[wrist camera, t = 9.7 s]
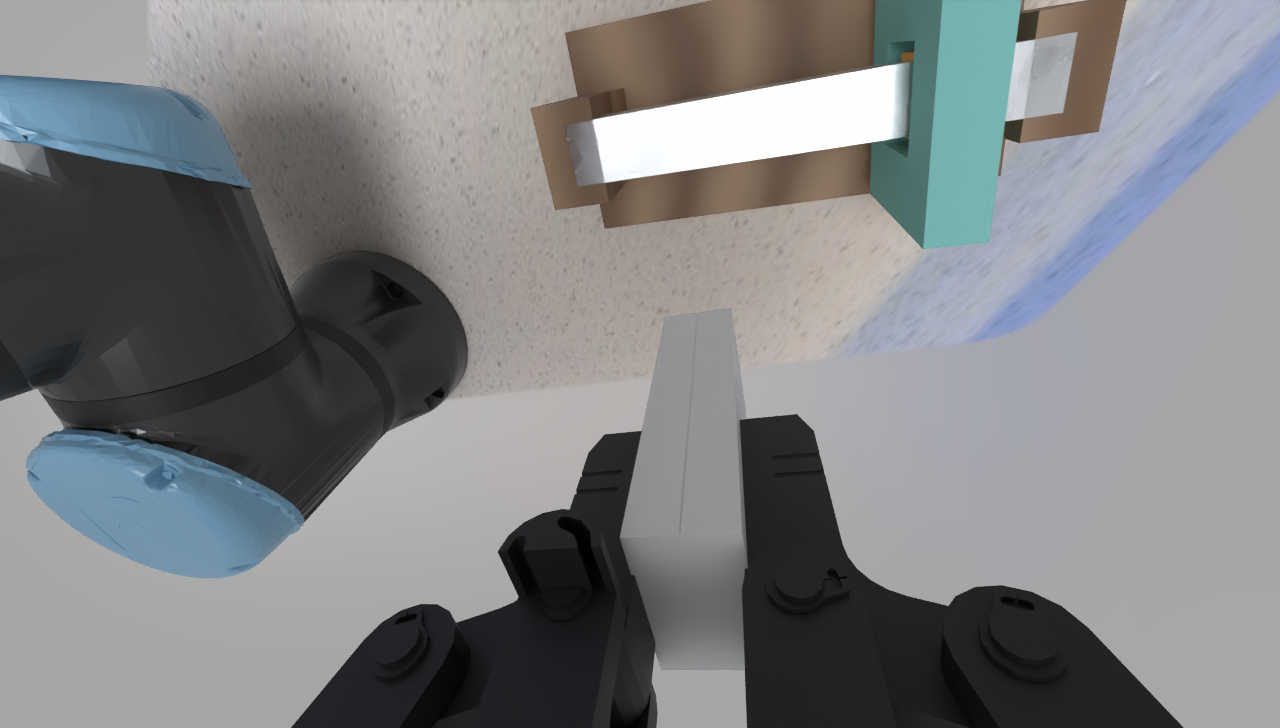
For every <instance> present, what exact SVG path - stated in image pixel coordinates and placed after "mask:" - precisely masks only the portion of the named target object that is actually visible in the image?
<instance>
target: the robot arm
mask: <svg viewBox="0 0 1280 728" xmlns="http://www.w3.org/2000/svg"><path fill="white" fill-rule="evenodd" d="M250 189H252V186H251V183H250V181H249V179H247V178H245V177H244V176H243V174H242V172H241V170H240V168H239V165H238V163H237V161H236V159H235V157H234V155H233V153H232V151H231V149H230V147H229V144H228V142H227V140H226V138H225V136H224V133H223V131H222V129H221V127H220V125H219V123H218V121H217V120H216V118H215V117H214V116H213V114H212V113H211V112H210V111H209V110H208V109H207V108H206V107H205V106H203V105H202V104H201V103H199V102H198V101H196V100H195V99H193V98H191V97H189V96H187V95H185V94H183V93H180V92H177V91H174V90H170V89H165V88H159V87H151V86H142V85H132V84H123V83H111V82H99V81H86V80H73V79H59V78H44V77H28V76H10V75H0V401H1V400H4V399H7V398H10V397H13V396H16V395H19V394H22V393H25V392H28V391H31V390H33V389H38V390H39V391H40V393H41V394H42V396H43V397H44V398H45V400H46V401H47V403H48V404H49V406H50V407H51V408H52V410H53V411H54V413H55V414H56V415H57V417H58V418H59V419H60V421H61V423H62V424H63V426H64V429H63V430H62V431H60V432H53V433H51V434H49V435H47V436H46V437H44V438H42V441H40V444H39V445H38V446H37V447H36V448H35V449H33V450H32V451H31V453H30V454H29V456H28V458H27V461H26V467H27V469H28V481H29V483H30V485H31V486H32V488H33V490H34V491H35V492H36V494H37V495H38V496H39V497H40V499H41V500H42V501H43V502H44V503H45V504H46V505H47V506H48V507H49V508H50V509H51V510H52V511H53V512H54V513H56V514H57V515H58V516H59V517H60V518H61V519H63V520H64V521H65V522H66V523H68V524H69V525H70V526H72V527H73V528H75V529H76V530H78V531H79V532H81V533H82V534H83V535H85V536H87V537H88V538H90V539H92V540H93V541H95V542H97V543H98V544H100V545H102V546H104V547H106V548H107V549H109V550H111V551H114V552H116V553H118V554H120V555H122V556H124V557H126V558H129V559H131V560H133V561H136V562H138V563H141V564H143V565H146V566H149V567H152V568H155V569H158V570H162V571H165V572H169V573H172V574H177V575H182V576H188V577H195V578H222V577H229V576H233V575H237V574H240V573H242V572H245V571H247V570H249V569H251V568H252V567H254V566H256V565H257V564H259V563H260V562H261V561H262V560H263V559H264V558H266V557H267V556H268V555H269V554H270V553H271V552H272V551H273V550H274V549H275V548H276V547H277V546H278V545H279V544H281V543H282V542H283V541H284V540H285V539H286V538H287V537H288V536H289V535H290V534H293V533H295V532H297V531H298V530H299V529H300V527H301V526H302V525H303V523H304V522H305V521H306V520H307V519H308V518H309V516H310V515H311V514H312V513H313V512H314V511H315V510H316V509H317V508H318V506H319V505H320V504H321V503H322V502H323V501H324V500H325V499H326V497H328V496H329V494H330V493H331V492H332V491H333V490H334V489H335V488H336V487H337V486H338V484H339V483H340V482H341V481H342V480H343V479H344V478H345V477H346V476H347V475H348V473H349V472H350V471H351V470H352V469H353V468H354V467H355V466H356V465H357V463H358V462H359V461H360V460H361V459H362V458H363V457H364V456H365V455H366V453H368V451H369V450H370V449H371V448H372V447H373V446H374V445H375V443H376V442H377V441H378V440H379V439H380V438H381V437H382V436H383V435H384V434H385V433H386V432H387V431H389V430H391V429H394V428H396V427H398V426H400V425H402V424H404V423H406V422H408V421H411V420H413V419H415V418H417V417H419V416H422V415H423V414H426V413H428V412H430V411H432V410H433V409H434V408H436V407H437V406H438V405H440V404H441V403H442V402H443V401H444V400H445V399H446V398H447V397H448V396H449V394H450V393H451V392H452V391H453V390H454V389H455V388H456V386H457V385H458V383H459V382H460V380H461V378H462V376H463V374H464V371H465V367H466V361H467V346H466V339H465V335H464V332H463V329H462V326H461V323H460V321H459V319H458V317H457V315H456V313H455V311H454V309H453V308H452V306H451V305H450V303H449V302H448V300H447V299H446V298H445V296H444V295H443V294H442V293H441V292H440V291H439V289H438V288H437V287H436V286H435V285H434V284H433V283H432V282H430V281H429V280H428V279H427V278H426V277H425V276H423V275H422V274H421V273H419V272H418V271H416V270H415V269H413V268H412V267H410V266H408V265H407V264H405V263H403V262H401V261H399V260H396V259H394V258H391V257H388V256H385V255H382V254H378V253H373V252H364V251H354V252H346V253H341V254H338V255H335V256H333V257H331V258H329V259H327V260H325V261H323V262H321V263H319V264H317V265H315V266H313V267H311V268H310V269H308V270H307V271H306V272H305V273H303V274H302V275H301V276H300V277H299V278H298V279H297V281H296V282H295V283H294V285H293V286H292V288H291V289H290V290H289V289H288V287H287V285H286V282H285V280H284V277H283V275H282V272H281V270H280V267H279V265H278V262H277V260H276V257H275V255H274V252H273V250H272V247H271V245H270V242H269V240H268V237H267V234H266V232H265V229H264V226H263V224H262V221H261V219H260V216H259V213H258V211H257V208H256V205H255V203H254V200H253V197H252V195H251V192H250ZM498 553H499V555H500V557H501V560H502V562H503V564H504V566H505V568H506V570H507V572H508V575H509V577H510V579H511V581H512V583H513V585H514V587H515V590H516V592H517V594H518V596H519V597H518V600H517V601H515V602H514V603H511V604H509V605H507V606H504V607H502V608H500V609H497V610H494V611H491V612H488V613H485V614H482V615H479V616H476V617H473V618H470V619H467V620H464V621H460V622H457V623H456V622H455V620H454V619H453V617H452V615H451V613H450V611H448V610H446V609H444V608H442V607H441V606H439V605H436V604H420V605H417V606H414V607H411V608H407V609H404V610H402V611H400V612H398V613H396V614H395V615H393V616H392V617H390V618H389V619H387V620H385V621H384V622H382V623H381V624H380V625H379V626H378V627H377V628H376V629H375V630H374V631H373V632H372V633H371V634H370V635H369V636H368V637H367V638H365V640H364V641H363V642H362V643H361V644H360V645H359V647H358V648H357V649H356V650H355V652H354V653H353V654H352V655H351V656H350V657H349V659H348V660H347V661H346V662H345V664H344V665H343V666H342V667H341V668H340V670H339V671H338V672H337V673H336V674H335V676H334V677H333V678H332V679H331V680H330V682H329V683H328V684H327V685H326V686H325V688H324V689H323V690H322V691H321V692H320V694H319V695H318V696H317V698H315V700H314V701H313V702H312V703H311V704H310V706H309V707H308V708H307V709H306V711H305V712H304V713H303V714H302V715H301V716H300V718H299V719H298V720H297V721H296V723H295V724H294V725H293V726H292V727H291V728H656V724H657V702H656V694H655V691H654V688H653V685H652V682H651V681H652V672H653V663H654V662H653V661H654V653H655V652H656V655H657V658H658V662H659V665H660V668H661V670H745V683H746V684H745V685H746V710H747V728H1183V727H1182V726H1181V725H1180V723H1179V722H1178V721H1177V720H1176V719H1175V718H1174V717H1173V716H1172V715H1171V714H1170V713H1169V712H1168V711H1167V710H1166V709H1165V708H1164V707H1163V706H1162V705H1161V704H1160V703H1159V701H1158V700H1157V699H1156V698H1154V696H1153V695H1152V694H1151V693H1150V692H1149V691H1148V690H1147V689H1146V688H1145V687H1144V686H1143V685H1142V684H1141V683H1140V682H1139V681H1138V679H1137V678H1136V677H1135V676H1134V675H1133V674H1132V673H1131V672H1130V671H1129V670H1128V669H1127V668H1126V667H1125V666H1124V665H1123V664H1122V663H1121V662H1120V661H1119V660H1118V659H1117V657H1116V656H1115V655H1114V654H1113V653H1112V652H1111V651H1110V650H1109V649H1108V648H1107V647H1106V646H1105V645H1104V644H1103V643H1102V642H1101V641H1100V640H1099V639H1098V638H1097V637H1096V635H1094V634H1093V632H1092V631H1091V630H1090V629H1089V628H1088V627H1087V626H1085V625H1084V624H1083V623H1082V622H1080V621H1079V620H1078V619H1077V618H1076V617H1074V616H1073V615H1072V614H1071V613H1069V612H1068V611H1067V610H1066V609H1064V608H1063V607H1062V606H1060V605H1058V604H1056V603H1054V602H1052V601H1050V600H1047V599H1045V598H1043V597H1041V596H1039V595H1037V594H1035V593H1033V592H1030V591H1025V590H1020V589H1016V588H1011V587H1006V586H984V587H975V588H972V589H970V590H968V591H966V592H964V593H962V594H960V595H958V596H955V598H954V599H953V601H952V602H951V604H950V605H949V606H946V605H941V604H937V603H933V602H929V601H925V600H921V599H917V598H912V597H908V596H905V595H902V594H899V593H896V592H893V591H890V590H888V589H886V588H884V587H882V586H880V585H878V584H877V583H875V582H873V581H871V580H870V579H868V578H867V577H866V576H865V575H864V574H863V573H861V572H860V571H859V570H858V569H857V568H856V567H855V566H854V565H853V563H852V562H851V560H850V559H849V558H848V556H847V554H846V551H845V549H844V547H843V544H842V540H841V537H840V533H839V529H838V525H837V521H836V517H835V513H834V509H833V505H832V501H831V497H830V493H829V489H828V485H827V482H826V477H825V474H824V469H823V466H822V462H821V458H820V455H819V450H818V446H817V442H816V438H815V434H814V431H813V430H812V429H811V428H810V427H809V426H808V425H807V424H806V423H805V422H804V421H803V420H802V419H801V418H800V417H799V416H798V415H797V414H795V415H785V416H774V417H764V418H753V419H746V412H745V403H744V397H743V389H742V382H741V375H740V367H739V360H738V353H737V346H736V339H735V332H734V325H733V317H732V310H731V308H727V309H720V310H713V311H706V312H699V313H691V314H684V315H677V316H670V317H665V322H664V327H663V331H662V336H661V341H660V346H659V351H658V355H657V360H656V365H655V370H654V375H653V380H652V385H651V390H650V395H649V399H648V404H647V409H646V413H645V418H644V423H643V428H642V431H637V432H626V433H616V434H605V435H604V436H603V437H602V438H601V440H600V441H599V442H598V443H597V444H596V445H595V446H594V447H593V449H592V450H591V451H590V452H589V453H588V456H587V459H586V462H585V465H584V469H583V472H582V477H581V478H580V480H579V484H578V486H577V494H575V496H574V499H573V502H572V505H571V508H570V510H566V509H561V510H556V511H551V512H546V513H542V514H540V515H538V516H536V517H534V518H532V519H530V520H528V521H526V522H524V523H523V524H522V525H521V526H519V527H518V528H517V529H516V530H515V531H513V532H512V533H511V534H510V535H509V536H508V537H507V539H506V541H505V542H504V543H503V545H502V546H501V548H500V549H499V551H498Z"/></svg>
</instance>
